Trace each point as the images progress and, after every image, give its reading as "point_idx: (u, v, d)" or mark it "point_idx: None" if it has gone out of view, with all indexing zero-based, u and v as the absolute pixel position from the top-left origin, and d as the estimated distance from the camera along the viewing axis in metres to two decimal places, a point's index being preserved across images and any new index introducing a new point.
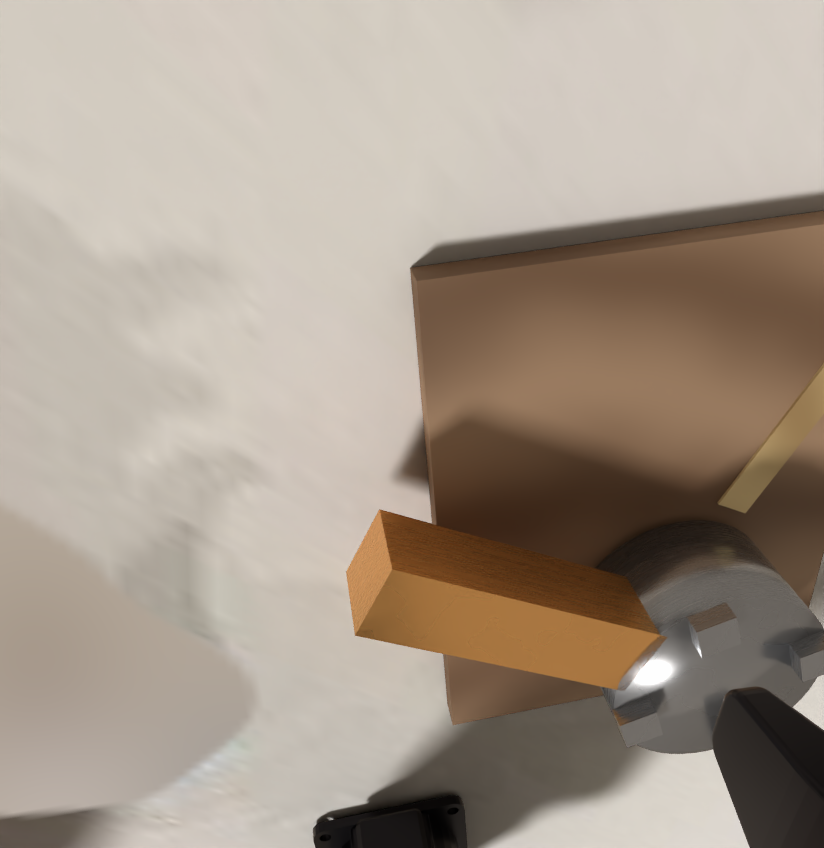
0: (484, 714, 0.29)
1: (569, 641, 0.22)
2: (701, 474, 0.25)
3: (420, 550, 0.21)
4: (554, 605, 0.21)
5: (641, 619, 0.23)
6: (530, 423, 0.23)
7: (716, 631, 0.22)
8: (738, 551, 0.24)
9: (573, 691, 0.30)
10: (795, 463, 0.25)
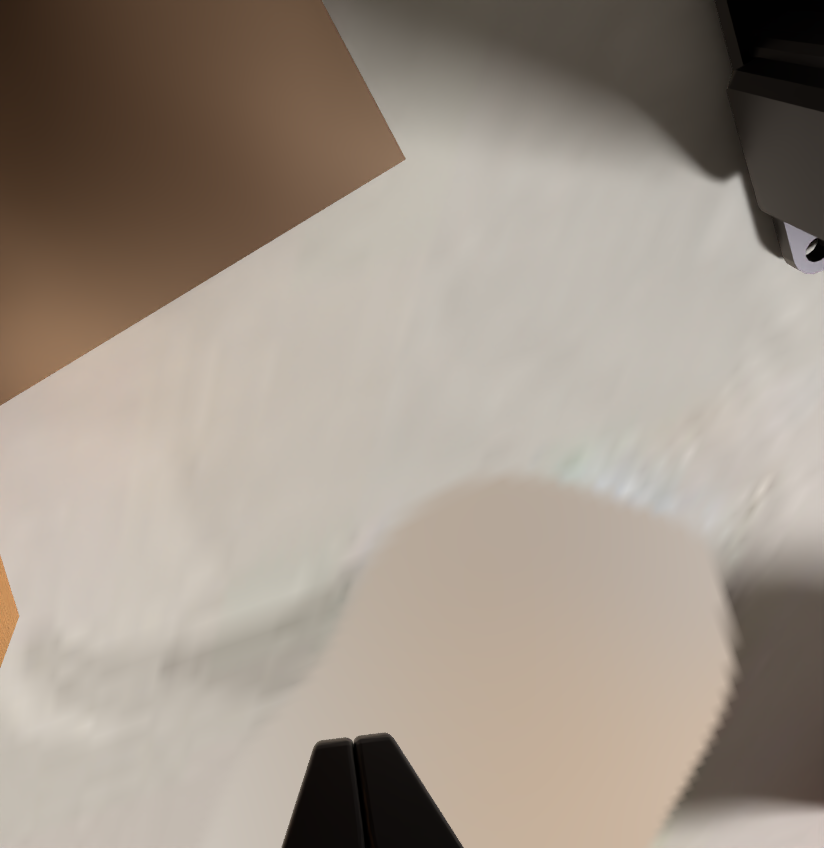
0: (352, 95, 0.12)
1: None
2: None
3: None
4: None
5: None
6: None
7: None
8: None
9: None
10: None
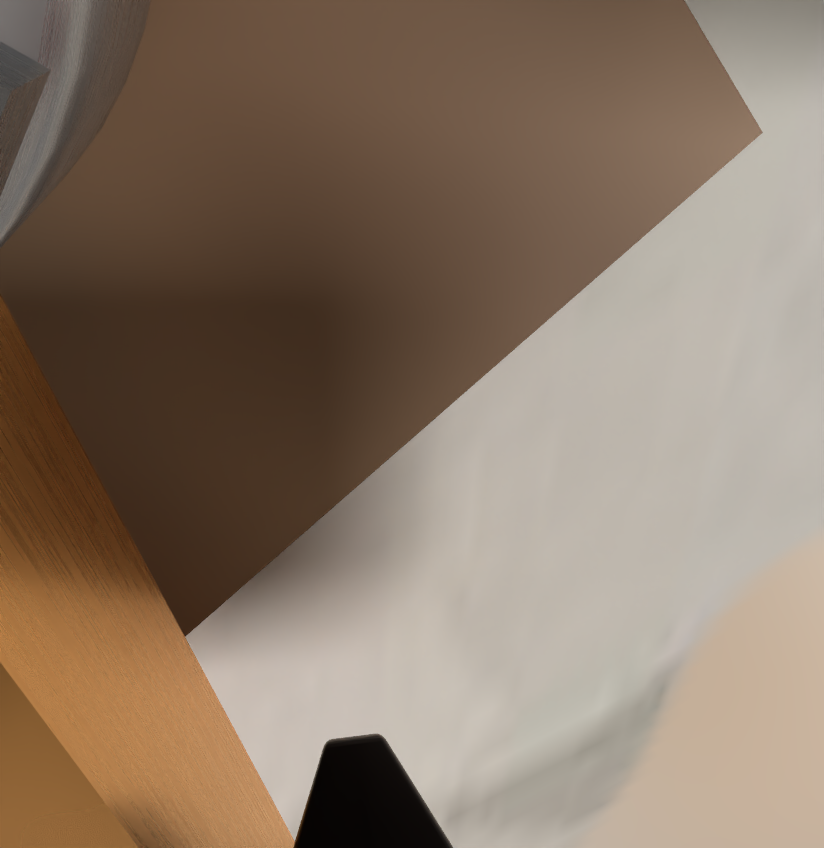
0: (680, 53, 0.07)
1: None
2: None
3: None
4: None
5: None
6: None
7: None
8: None
9: None
10: None
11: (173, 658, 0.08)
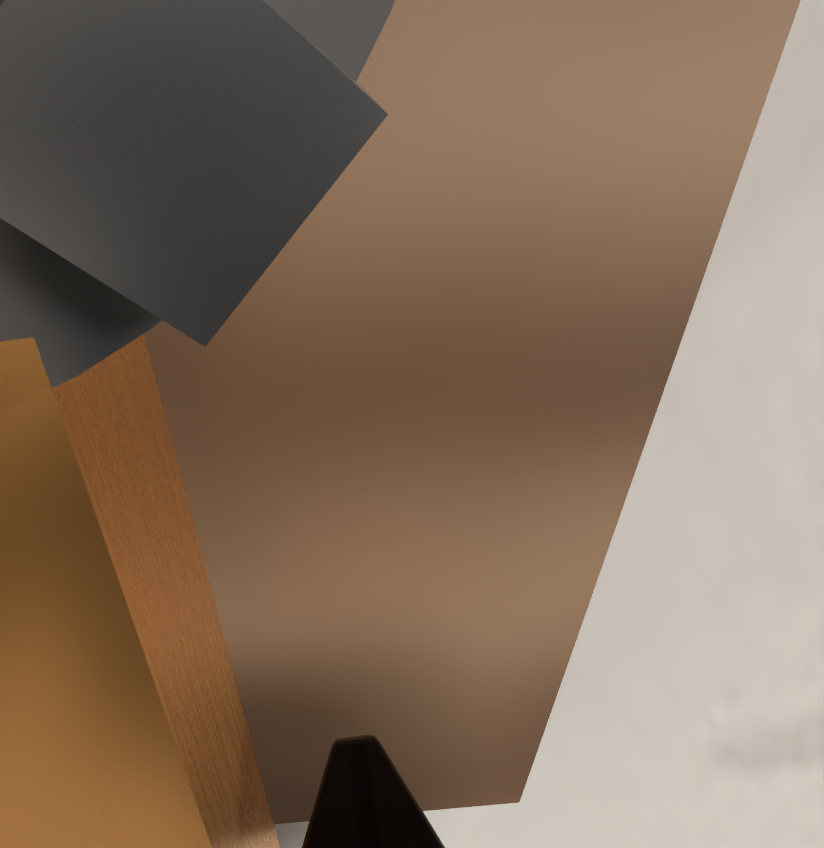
0: None
1: None
2: None
3: None
4: None
5: None
6: (387, 595, 0.10)
7: None
8: None
9: None
10: None
11: (217, 649, 0.08)
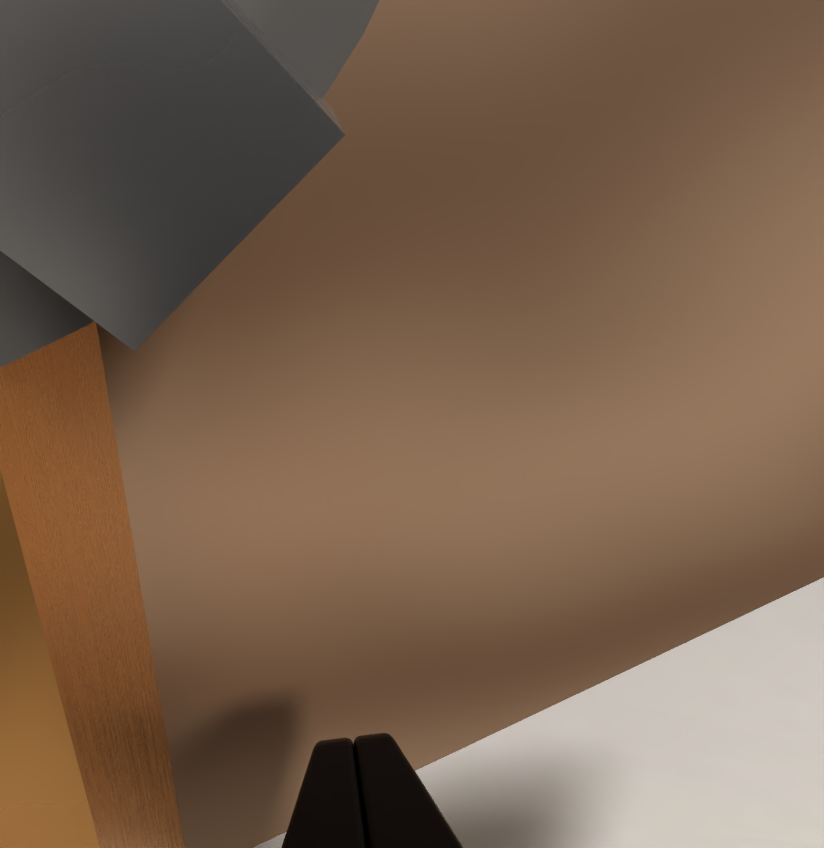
0: None
1: None
2: (198, 328, 0.08)
3: None
4: None
5: None
6: (775, 301, 0.09)
7: None
8: None
9: None
10: None
11: (141, 658, 0.07)
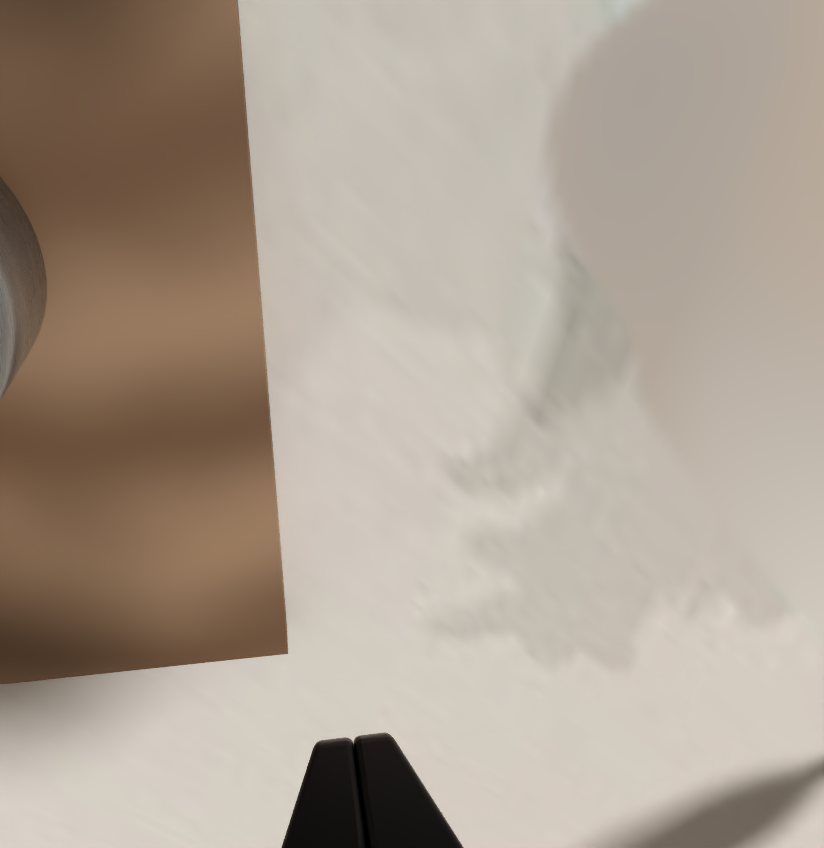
0: (171, 13, 0.15)
1: None
2: None
3: None
4: None
5: None
6: (166, 539, 0.21)
7: None
8: None
9: None
10: None
11: None
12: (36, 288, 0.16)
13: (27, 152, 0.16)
